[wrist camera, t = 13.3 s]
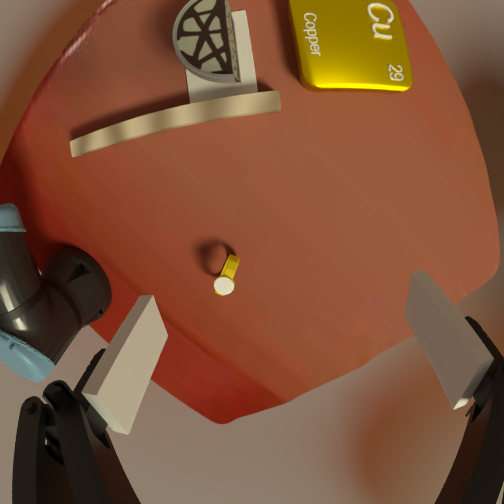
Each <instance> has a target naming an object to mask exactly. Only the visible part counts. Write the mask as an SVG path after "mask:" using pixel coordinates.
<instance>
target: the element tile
mask: <svg viewBox="0 0 504 504" xmlns="http://www.w3.org/2000/svg"><path fill="white" fill-rule="evenodd" d="M287 12H288V17H289V22H290V27H291V33H292V38H293V44H294V49H295V55H296V61H297V67H298V74H299V79H300V82H301V84H302V85H303V87H304V88H306V89H307V90H309V91H312V92H365V93H385V94H394V93H399V92H404V91H407V90H409V89H410V88H411V87H412V84H413V75H412V69H411V63H410V57H409V52H408V47H407V43H406V38H405V34H404V30H403V26H402V22H401V18H400V15H399V11H398V9H397V6H396V5H395V4H394V2H393V1H391V0H289V2H288V8H287Z"/></svg>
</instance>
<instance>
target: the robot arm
mask: <svg viewBox="0 0 504 504" xmlns="http://www.w3.org/2000/svg"><path fill="white" fill-rule="evenodd" d="M111 299H112V293H111V287H110V284H109V281H108V279H107V277H106V275H105V273H104V271H103V270H102V268H101V267H100V266H99V264H98V263H97V262H96V261H95V260H94V259H93V258H92V257H91V256H89V255H88V254H87V253H85V252H83V251H81V250H79V249H76V248H71V247H68V248H63V249H61V250H59V251H58V252H57V253H55V254H54V255H53V256H52V257H51V258H50V259H49V261H48V263H47V265H46V266H45V268H44V270H43V272H42V274H41V276H40V273H39V270H38V268H37V265H36V262H35V260H34V257H33V254H32V251H31V247H30V244H29V241H28V238H27V234H26V228H24V225H23V222H22V219H21V216H20V213H19V210H18V208H17V207H16V206H15V205H14V204H12V203H5V204H2V205H0V360H1V361H2V362H3V363H4V364H6V366H8V367H9V368H10V369H11V370H12V371H14V372H15V373H17V374H18V375H20V376H21V377H23V378H25V379H27V380H29V381H32V382H41V381H43V380H44V379H45V378H46V377H47V375H48V374H49V373H50V372H51V371H52V369H54V368H55V365H56V364H57V362H58V361H59V359H60V358H61V356H62V355H63V354H64V352H65V351H66V349H67V348H68V346H69V345H70V343H71V342H72V341H73V339H74V338H75V336H76V335H77V334H78V332H79V331H80V330H81V328H83V327H85V326H87V325H89V324H91V323H92V322H94V321H96V320H98V319H99V318H101V317H102V316H103V315H104V313H105V312H106V311H107V309H108V308H109V306H110V304H111ZM404 317H405V318H406V320H407V322H408V323H409V325H410V327H411V329H412V330H413V332H414V334H415V336H416V337H417V339H418V341H419V343H420V345H421V346H422V348H423V350H424V352H425V354H426V356H427V357H428V360H429V361H430V363H431V365H432V367H433V369H434V371H435V373H436V375H437V377H438V379H439V381H440V383H441V385H442V387H443V389H444V392H445V394H446V396H447V398H448V400H449V402H450V405H451V407H452V409H456V408H458V407H461V406H463V405H466V404H467V403H468V401H469V400H470V398H471V397H472V395H473V397H474V399H475V402H474V404H473V405H472V406H471V408H470V409H469V411H468V412H467V414H466V415H465V416H466V417H467V416H468V415H469V414H470V417H469V420H468V423H467V427H466V430H465V433H464V436H463V439H462V442H461V445H460V447H459V450H458V453H457V456H456V458H455V461H454V463H453V466H452V468H451V470H450V473H449V475H448V477H447V480H446V482H445V484H444V486H443V488H442V490H441V492H440V494H439V496H438V498H437V500H436V502H435V504H496V502H497V499H498V496H499V493H500V491H501V488H502V485H503V481H504V358H503V356H502V355H501V353H500V352H499V351H498V349H497V348H496V346H495V345H494V344H493V342H492V341H491V339H490V338H489V337H487V334H486V333H485V332H484V331H483V329H482V328H481V326H480V325H479V324H478V322H476V321H475V320H473V319H472V318H471V317H469V316H467V317H463V316H462V314H461V313H460V312H459V310H458V309H457V308H456V307H455V305H454V304H453V303H452V302H451V300H450V299H449V298H448V297H447V296H446V294H445V293H444V292H443V291H442V290H441V288H440V287H439V286H438V285H437V284H436V283H435V282H434V280H433V279H432V278H431V277H430V276H429V275H428V274H427V273H426V271H425V270H418V271H412V272H411V279H410V285H409V291H408V296H407V301H406V306H405V311H404ZM167 337H168V334H167V332H166V329H165V327H164V324H163V321H162V319H161V316H160V313H159V311H158V308H157V305H156V302H155V299H154V296H153V295H145V296H140V297H139V299H138V300H137V302H136V303H135V305H134V306H133V308H132V309H131V311H130V312H129V314H128V315H127V317H126V318H125V320H124V322H123V323H122V325H121V326H120V328H119V329H118V331H117V333H116V334H115V336H114V337H113V339H112V341H111V342H110V344H109V346H108V347H107V349H101V350H100V351H99V352H98V353H97V354H96V355H95V356H94V357H93V359H92V360H91V362H90V365H88V367H87V369H86V371H85V372H84V374H83V375H82V377H81V379H80V380H79V382H78V384H77V386H76V387H75V389H74V391H72V390H71V389H70V387H69V386H68V385H67V384H66V382H64V381H61V380H57V381H54V382H52V383H50V384H49V385H48V386H47V387H46V388H45V390H44V392H43V398H44V399H45V401H46V402H47V403H48V404H44V403H43V402H42V401H41V400H40V398H38V397H36V396H32V397H29V398H28V399H26V400H25V402H24V403H23V404H22V407H21V410H20V416H19V421H18V427H17V434H16V442H15V452H14V462H13V480H12V504H141V503H140V501H139V499H138V498H137V496H136V494H135V492H134V490H133V488H132V486H131V484H130V482H129V480H128V478H127V476H126V474H125V472H124V470H123V468H122V465H121V463H120V461H119V459H118V457H117V454H116V452H115V449H114V447H113V445H112V442H111V440H110V437H109V435H108V433H107V431H106V430H105V429H106V427H107V425H109V426H110V427H111V429H113V431H115V432H119V433H123V434H128V435H129V432H130V430H131V427H132V424H133V422H134V419H135V416H136V414H137V411H138V408H139V406H140V403H141V401H142V398H143V396H144V393H145V391H146V388H147V386H148V383H149V381H150V378H151V376H152V373H153V371H154V368H155V366H156V363H157V361H158V359H159V356H160V354H161V351H162V349H163V347H164V344H165V342H166V339H167ZM470 412H471V413H470ZM45 439H46V440H47V445H45ZM502 504H504V492H503V499H502Z"/></svg>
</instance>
